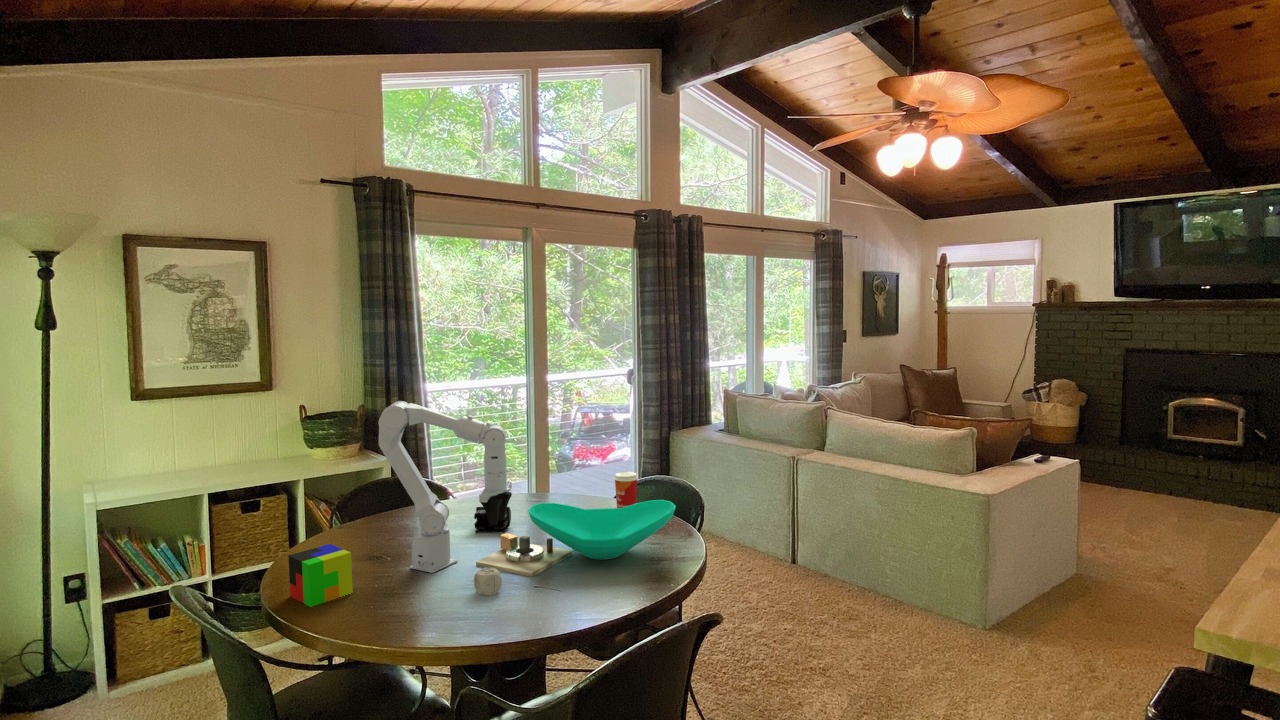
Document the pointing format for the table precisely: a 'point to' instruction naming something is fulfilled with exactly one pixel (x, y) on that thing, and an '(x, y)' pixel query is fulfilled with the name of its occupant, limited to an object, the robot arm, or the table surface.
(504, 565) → the board
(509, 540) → the flange
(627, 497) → the paper cup
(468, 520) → the table surface
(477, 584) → the die
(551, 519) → the table top decor
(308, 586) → the puzzle toy
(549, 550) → the dowel
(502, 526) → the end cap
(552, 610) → the table surface
